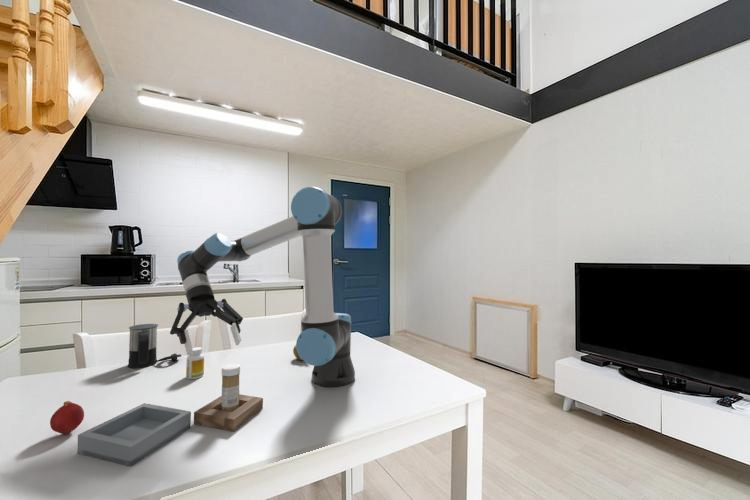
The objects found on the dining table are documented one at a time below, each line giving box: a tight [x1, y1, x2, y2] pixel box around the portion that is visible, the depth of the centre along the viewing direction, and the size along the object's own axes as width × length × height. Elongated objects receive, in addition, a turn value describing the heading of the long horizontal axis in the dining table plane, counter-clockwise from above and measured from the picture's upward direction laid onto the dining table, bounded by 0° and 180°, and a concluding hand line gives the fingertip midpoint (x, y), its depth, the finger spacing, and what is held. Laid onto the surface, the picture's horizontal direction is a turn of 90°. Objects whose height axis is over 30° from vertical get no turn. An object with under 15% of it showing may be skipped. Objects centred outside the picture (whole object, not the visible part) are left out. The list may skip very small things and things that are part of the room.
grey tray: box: [76, 402, 192, 467], centre depth 74 cm, size 15×15×4 cm
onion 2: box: [292, 344, 303, 361], centre depth 131 cm, size 8×8×8 cm
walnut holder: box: [193, 393, 264, 432], centre depth 85 cm, size 12×12×3 cm
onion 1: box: [49, 400, 85, 436], centre depth 75 cm, size 6×6×8 cm
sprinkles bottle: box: [221, 363, 241, 412], centre depth 85 cm, size 5×5×14 cm
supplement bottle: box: [185, 346, 205, 380], centre depth 111 cm, size 5×5×10 cm
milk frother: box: [127, 323, 182, 369], centre depth 123 cm, size 14×16×15 cm
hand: (215, 347), depth 92 cm, fingers open, 13 cm apart
